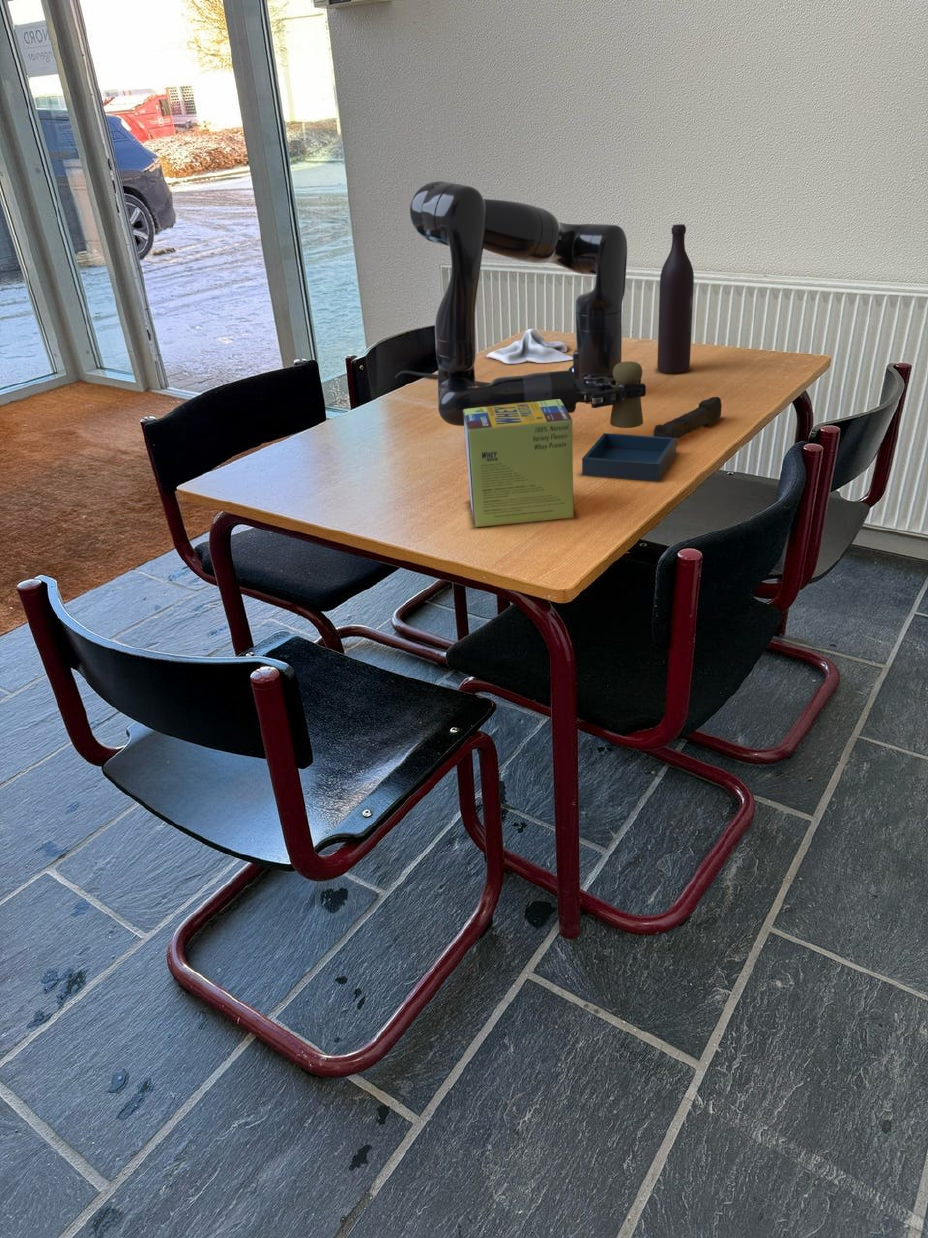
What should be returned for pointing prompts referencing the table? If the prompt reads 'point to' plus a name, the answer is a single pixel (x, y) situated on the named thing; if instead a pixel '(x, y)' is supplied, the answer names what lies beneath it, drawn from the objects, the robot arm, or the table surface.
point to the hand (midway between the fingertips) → (642, 385)
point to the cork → (630, 408)
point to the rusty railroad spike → (691, 419)
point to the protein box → (519, 462)
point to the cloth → (532, 350)
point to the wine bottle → (675, 307)
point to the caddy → (629, 457)
